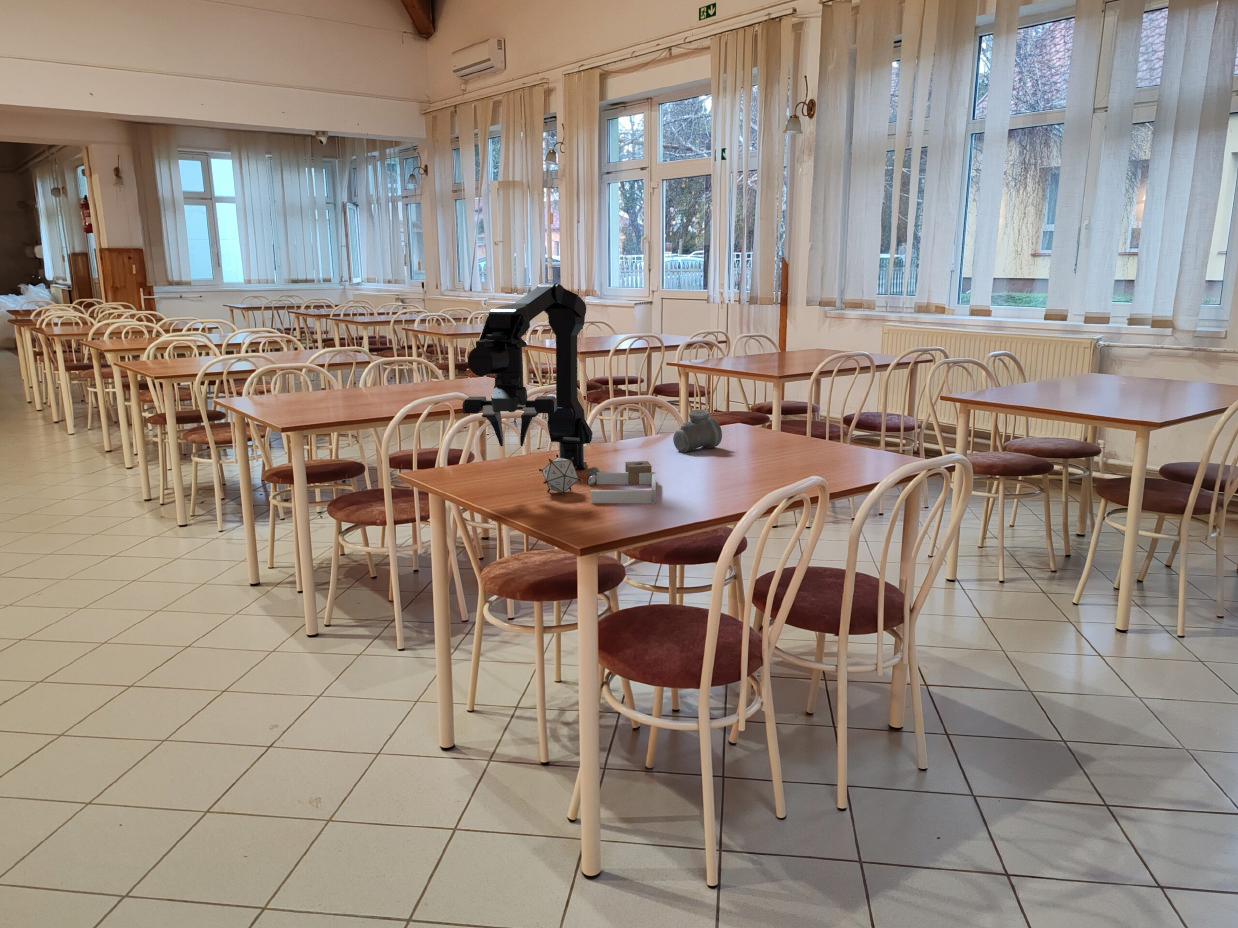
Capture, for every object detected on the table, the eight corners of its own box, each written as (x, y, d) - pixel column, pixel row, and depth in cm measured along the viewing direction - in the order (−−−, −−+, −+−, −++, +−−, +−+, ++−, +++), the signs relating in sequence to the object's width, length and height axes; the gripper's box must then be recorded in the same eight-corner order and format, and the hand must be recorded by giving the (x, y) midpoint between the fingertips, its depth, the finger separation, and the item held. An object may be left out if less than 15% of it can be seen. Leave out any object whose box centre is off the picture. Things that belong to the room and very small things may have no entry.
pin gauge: (588, 477, 195) (588, 466, 195) (599, 477, 195) (599, 466, 195) (586, 485, 188) (585, 475, 187) (597, 485, 188) (597, 475, 187)
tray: (597, 483, 190) (596, 472, 189) (655, 483, 189) (655, 472, 189) (591, 503, 174) (591, 491, 173) (655, 503, 173) (655, 491, 173)
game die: (557, 512, 181) (534, 480, 175) (549, 489, 188) (526, 458, 182) (594, 491, 180) (572, 459, 175) (584, 469, 187) (563, 437, 181)
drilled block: (625, 479, 193) (625, 461, 192) (647, 478, 194) (647, 460, 193) (628, 484, 188) (628, 466, 187) (651, 483, 189) (651, 465, 188)
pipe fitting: (702, 442, 232) (701, 405, 228) (723, 449, 226) (723, 411, 222) (668, 453, 225) (666, 415, 221) (689, 460, 219) (688, 422, 215)
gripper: (454, 375, 169) (458, 454, 173) (549, 375, 169) (552, 454, 172) (466, 369, 180) (470, 443, 184) (556, 369, 180) (558, 443, 183)
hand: (511, 446), depth 180 cm, fingers open, 4 cm apart
